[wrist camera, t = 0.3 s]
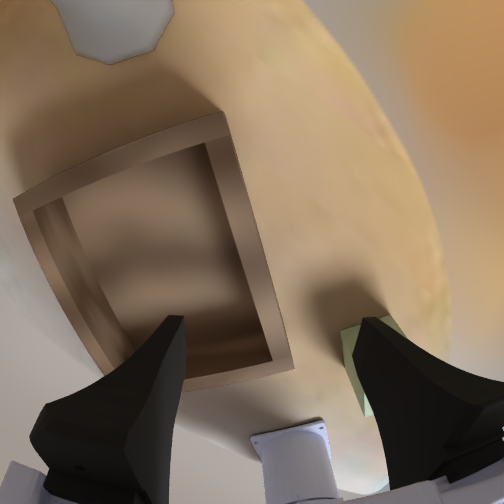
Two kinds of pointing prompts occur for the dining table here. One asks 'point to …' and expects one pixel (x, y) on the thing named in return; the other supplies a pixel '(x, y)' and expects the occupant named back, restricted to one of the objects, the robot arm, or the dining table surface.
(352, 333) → the green block
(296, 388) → the dining table surface
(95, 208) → the walnut crate
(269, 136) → the dining table surface
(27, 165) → the dining table surface
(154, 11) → the flask
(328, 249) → the dining table surface
